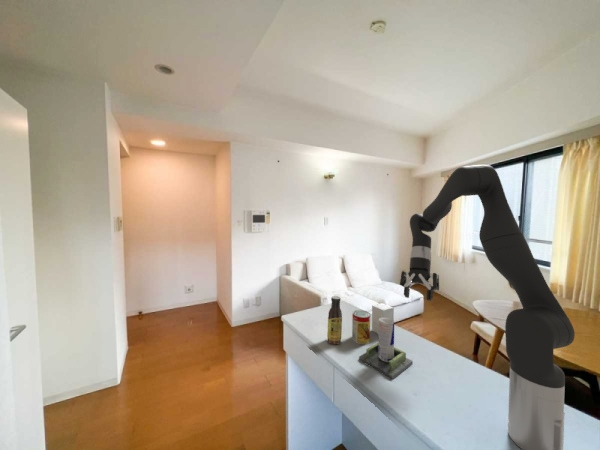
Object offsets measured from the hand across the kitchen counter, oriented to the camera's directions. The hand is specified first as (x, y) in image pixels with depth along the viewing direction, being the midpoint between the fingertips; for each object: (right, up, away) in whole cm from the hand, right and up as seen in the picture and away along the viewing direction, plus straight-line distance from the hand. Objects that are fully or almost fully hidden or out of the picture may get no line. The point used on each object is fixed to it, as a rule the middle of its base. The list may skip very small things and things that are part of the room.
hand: (417, 298), depth 89 cm
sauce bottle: (-31, -23, +13) cm, 41 cm away
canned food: (-18, -23, +15) cm, 33 cm away
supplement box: (-6, -23, +22) cm, 32 cm away
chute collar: (-13, -24, -2) cm, 27 cm away
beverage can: (-13, -23, -2) cm, 26 cm away
